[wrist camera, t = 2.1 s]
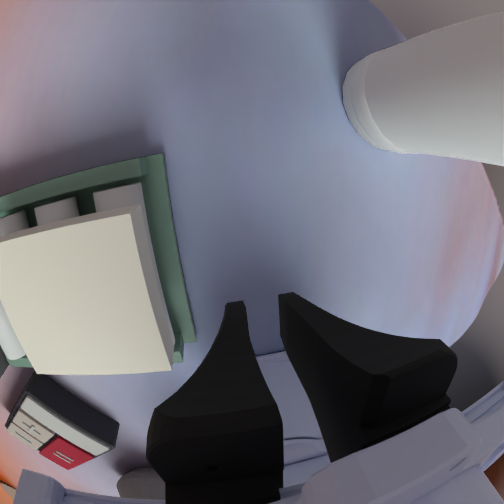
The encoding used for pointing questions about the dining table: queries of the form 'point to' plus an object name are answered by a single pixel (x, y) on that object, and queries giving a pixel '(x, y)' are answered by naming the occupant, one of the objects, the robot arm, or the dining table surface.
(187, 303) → the roller frame
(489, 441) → the robot arm
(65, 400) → the calculator
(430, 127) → the bottle
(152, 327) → the board
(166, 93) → the dining table surface
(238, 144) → the dining table surface
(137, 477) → the coffee pot
